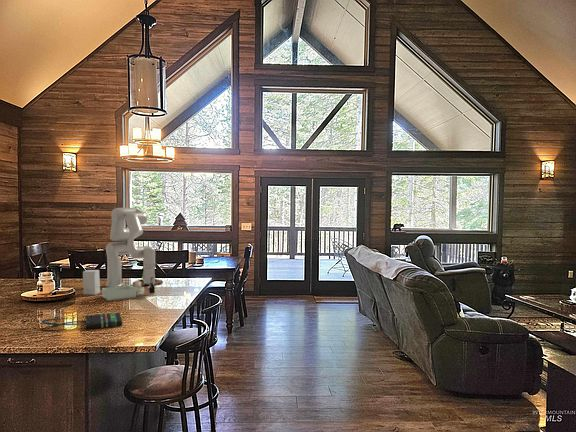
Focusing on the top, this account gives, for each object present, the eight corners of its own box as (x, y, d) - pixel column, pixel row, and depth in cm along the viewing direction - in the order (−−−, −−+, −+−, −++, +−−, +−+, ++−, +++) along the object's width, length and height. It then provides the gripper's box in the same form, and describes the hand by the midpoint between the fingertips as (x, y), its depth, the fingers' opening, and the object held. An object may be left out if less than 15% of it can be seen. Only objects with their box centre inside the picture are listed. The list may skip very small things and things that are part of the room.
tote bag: (122, 319, 199) (39, 326, 184) (122, 329, 199) (38, 337, 184) (119, 309, 218) (43, 315, 203) (119, 318, 218) (43, 324, 203)
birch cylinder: (132, 292, 278) (132, 281, 277) (139, 291, 281) (139, 281, 281) (134, 293, 274) (134, 282, 274) (142, 292, 277) (142, 282, 277)
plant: (127, 286, 298) (127, 271, 298) (144, 281, 317) (144, 267, 316) (150, 288, 292) (150, 272, 292) (166, 283, 311) (166, 268, 311)
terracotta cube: (144, 294, 271) (144, 287, 271) (151, 293, 274) (151, 286, 274) (146, 295, 267) (146, 288, 267) (154, 294, 270) (154, 287, 270)
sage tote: (102, 296, 262) (102, 288, 262) (129, 293, 273) (129, 285, 273) (107, 300, 252) (107, 291, 252) (136, 297, 262) (136, 288, 262)
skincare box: (100, 293, 273) (100, 269, 273) (94, 295, 267) (94, 271, 266) (88, 292, 274) (88, 269, 274) (82, 294, 268) (82, 271, 267)
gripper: (139, 265, 274) (139, 290, 275) (148, 268, 261) (148, 294, 261) (150, 264, 279) (150, 289, 279) (159, 267, 265) (159, 293, 266)
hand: (149, 291), depth 270 cm, fingers open, 9 cm apart
